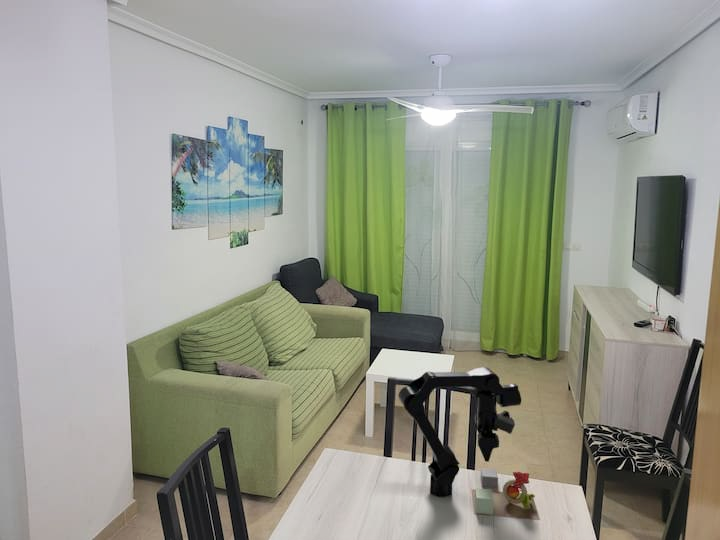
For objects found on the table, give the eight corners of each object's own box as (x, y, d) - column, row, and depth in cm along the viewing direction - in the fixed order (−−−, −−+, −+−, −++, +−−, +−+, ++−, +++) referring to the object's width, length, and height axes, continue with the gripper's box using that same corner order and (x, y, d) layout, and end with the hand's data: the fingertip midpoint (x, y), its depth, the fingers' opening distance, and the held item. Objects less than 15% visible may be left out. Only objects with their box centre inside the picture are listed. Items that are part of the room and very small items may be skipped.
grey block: (481, 490, 178) (482, 476, 177) (480, 481, 183) (481, 468, 182) (497, 491, 177) (498, 477, 176) (495, 483, 182) (496, 469, 181)
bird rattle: (508, 515, 166) (538, 510, 162) (495, 481, 166) (524, 475, 162) (510, 503, 172) (539, 499, 168) (497, 471, 171) (526, 465, 168)
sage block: (475, 513, 163) (476, 497, 162) (474, 503, 168) (475, 488, 167) (492, 514, 163) (493, 499, 162) (491, 504, 168) (492, 489, 167)
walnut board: (473, 518, 163) (474, 513, 163) (471, 493, 176) (471, 489, 176) (539, 524, 161) (540, 519, 161) (531, 498, 173) (532, 494, 173)
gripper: (517, 422, 161) (515, 471, 164) (509, 396, 180) (508, 440, 183) (478, 421, 163) (477, 469, 166) (475, 395, 181) (474, 438, 184)
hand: (485, 453), depth 175 cm, fingers open, 9 cm apart
